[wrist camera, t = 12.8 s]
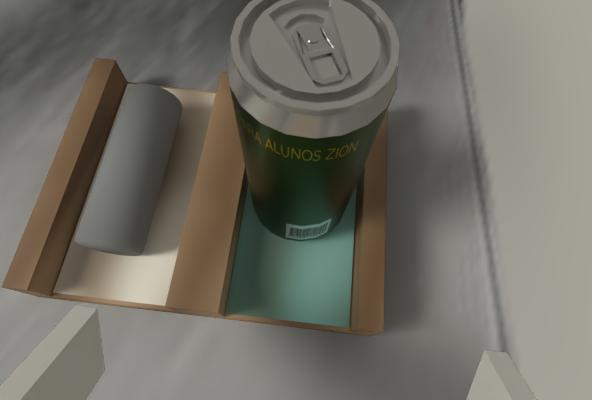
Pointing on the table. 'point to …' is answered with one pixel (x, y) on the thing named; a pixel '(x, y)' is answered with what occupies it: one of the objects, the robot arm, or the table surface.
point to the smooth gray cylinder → (131, 172)
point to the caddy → (203, 228)
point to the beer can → (309, 105)
